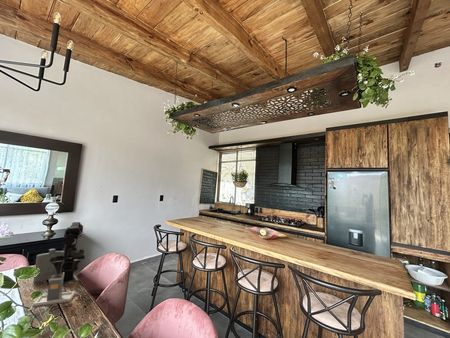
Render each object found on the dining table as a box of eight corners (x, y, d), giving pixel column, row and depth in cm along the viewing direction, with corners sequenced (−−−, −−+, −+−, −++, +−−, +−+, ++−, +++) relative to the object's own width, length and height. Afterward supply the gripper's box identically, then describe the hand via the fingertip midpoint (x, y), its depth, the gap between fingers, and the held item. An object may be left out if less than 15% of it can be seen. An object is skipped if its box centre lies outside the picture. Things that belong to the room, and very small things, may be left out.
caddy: (49, 297, 119) (52, 275, 120) (61, 295, 121) (64, 274, 122) (46, 302, 114) (49, 279, 115) (58, 300, 116) (61, 278, 117)
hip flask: (33, 283, 134) (37, 252, 136) (32, 280, 137) (36, 250, 139) (63, 276, 146) (66, 247, 148) (62, 274, 149) (65, 246, 150)
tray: (40, 298, 118) (40, 295, 118) (74, 293, 125) (75, 290, 125) (33, 306, 110) (33, 303, 110) (70, 301, 117) (70, 298, 117)
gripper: (65, 245, 122) (60, 273, 116) (92, 245, 139) (89, 270, 133) (51, 247, 125) (46, 275, 119) (79, 247, 141) (76, 272, 135)
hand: (66, 273), depth 126 cm, fingers open, 9 cm apart
